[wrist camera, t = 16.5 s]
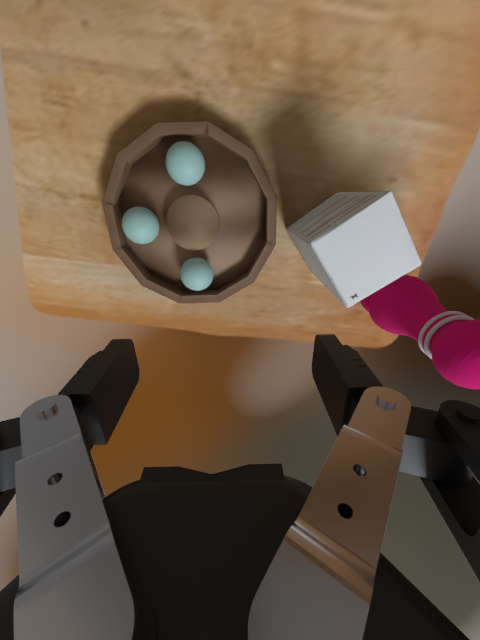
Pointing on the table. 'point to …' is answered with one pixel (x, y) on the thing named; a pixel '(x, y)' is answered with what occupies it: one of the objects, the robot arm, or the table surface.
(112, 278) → the table surface
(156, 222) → the bead
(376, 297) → the pepper mill
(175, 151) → the bead
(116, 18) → the table surface
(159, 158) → the tray
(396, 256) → the supplement box
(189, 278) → the bead
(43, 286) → the table surface
